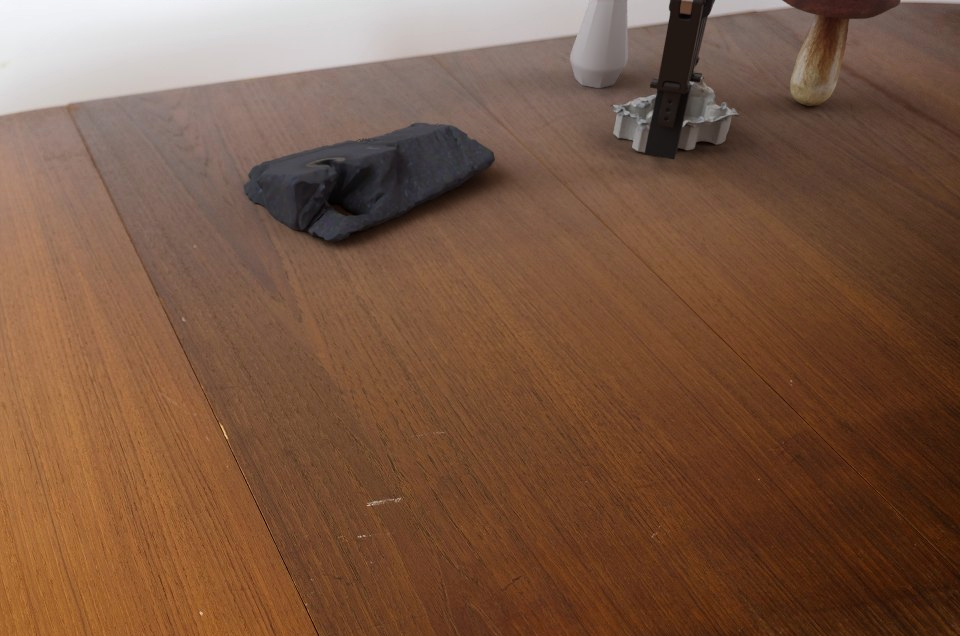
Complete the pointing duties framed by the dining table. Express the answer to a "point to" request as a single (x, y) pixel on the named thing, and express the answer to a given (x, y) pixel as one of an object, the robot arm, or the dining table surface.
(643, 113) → the egg carton
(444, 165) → the dark slate chunk
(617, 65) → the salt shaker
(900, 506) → the dining table surface
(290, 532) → the dining table surface
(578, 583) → the dining table surface
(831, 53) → the decorative mushroom
